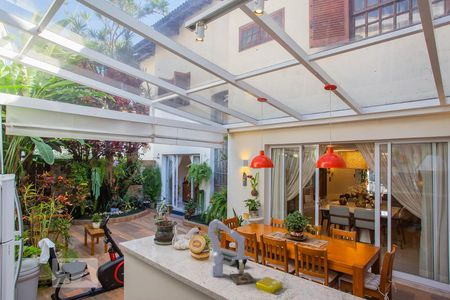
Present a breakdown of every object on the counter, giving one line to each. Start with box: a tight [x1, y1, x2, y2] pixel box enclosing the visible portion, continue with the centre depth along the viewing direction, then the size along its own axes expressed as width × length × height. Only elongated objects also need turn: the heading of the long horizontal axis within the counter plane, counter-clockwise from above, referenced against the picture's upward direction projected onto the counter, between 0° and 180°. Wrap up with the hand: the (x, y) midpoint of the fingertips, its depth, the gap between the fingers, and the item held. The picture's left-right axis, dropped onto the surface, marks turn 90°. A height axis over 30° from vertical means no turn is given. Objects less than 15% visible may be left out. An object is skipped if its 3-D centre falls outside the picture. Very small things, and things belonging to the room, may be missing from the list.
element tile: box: [255, 276, 283, 295], centre depth 198 cm, size 15×15×5 cm
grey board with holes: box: [229, 272, 257, 286], centre depth 212 cm, size 16×17×2 cm
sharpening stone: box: [219, 247, 237, 267], centre depth 247 cm, size 25×8×11 cm, turn 48°
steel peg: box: [236, 261, 245, 273], centre depth 217 cm, size 4×4×7 cm
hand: (240, 268), depth 217 cm, fingers closed on steel peg, 4 cm apart
